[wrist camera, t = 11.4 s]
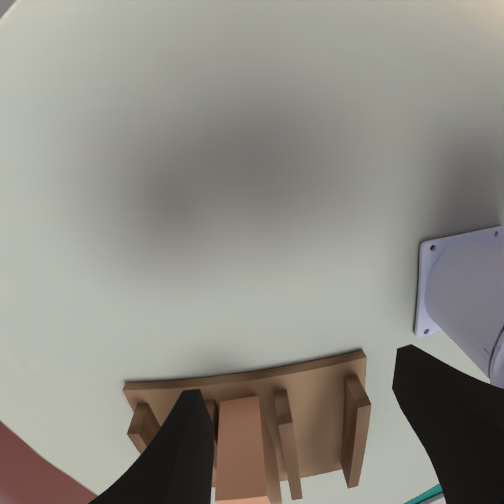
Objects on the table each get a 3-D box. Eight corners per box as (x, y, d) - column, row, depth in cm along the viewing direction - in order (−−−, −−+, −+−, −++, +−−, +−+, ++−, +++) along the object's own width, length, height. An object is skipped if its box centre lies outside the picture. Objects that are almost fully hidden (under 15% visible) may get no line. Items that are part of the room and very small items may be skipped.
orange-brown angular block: (258, 395, 22) (267, 496, 13) (275, 451, 24) (285, 533, 16) (220, 401, 22) (215, 500, 13) (243, 456, 24) (246, 537, 16)
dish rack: (362, 349, 22) (383, 386, 18) (353, 458, 27) (363, 489, 23) (125, 382, 22) (109, 420, 18) (183, 480, 27) (179, 512, 23)
